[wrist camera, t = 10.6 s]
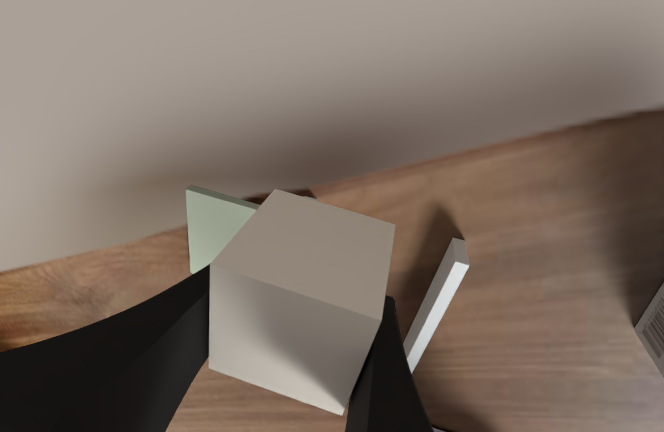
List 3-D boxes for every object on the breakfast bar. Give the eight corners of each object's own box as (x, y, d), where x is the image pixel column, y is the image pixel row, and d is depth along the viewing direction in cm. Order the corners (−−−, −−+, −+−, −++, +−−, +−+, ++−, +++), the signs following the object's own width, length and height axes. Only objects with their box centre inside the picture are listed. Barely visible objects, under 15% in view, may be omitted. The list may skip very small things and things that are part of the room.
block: (395, 224, 12) (381, 320, 8) (363, 311, 15) (341, 415, 11) (275, 188, 13) (210, 264, 9) (263, 278, 15) (208, 368, 11)
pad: (296, 215, 21) (293, 220, 20) (284, 295, 25) (281, 301, 24) (190, 185, 22) (185, 189, 21) (195, 267, 25) (190, 272, 25)
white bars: (465, 240, 19) (469, 265, 17) (402, 366, 26) (401, 393, 24) (304, 195, 20) (292, 214, 18) (283, 327, 27) (273, 351, 25)
